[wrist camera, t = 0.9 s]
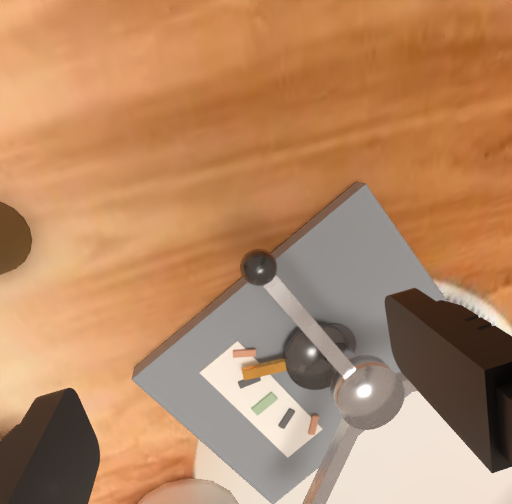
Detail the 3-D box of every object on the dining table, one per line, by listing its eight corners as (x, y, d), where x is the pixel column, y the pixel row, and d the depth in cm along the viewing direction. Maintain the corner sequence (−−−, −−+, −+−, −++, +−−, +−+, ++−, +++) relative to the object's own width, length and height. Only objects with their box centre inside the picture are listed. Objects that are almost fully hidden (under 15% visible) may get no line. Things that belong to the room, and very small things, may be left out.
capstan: (477, 185, 35) (557, 195, 27) (477, 425, 41) (541, 486, 34) (216, 234, 32) (225, 261, 24) (263, 483, 39) (281, 563, 31)
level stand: (356, 181, 36) (368, 184, 33) (461, 332, 42) (478, 343, 39) (134, 367, 36) (130, 382, 34) (268, 488, 42) (273, 508, 40)
